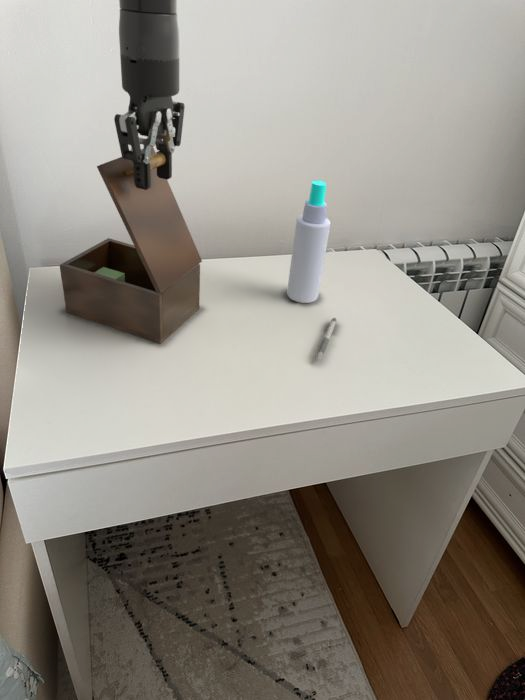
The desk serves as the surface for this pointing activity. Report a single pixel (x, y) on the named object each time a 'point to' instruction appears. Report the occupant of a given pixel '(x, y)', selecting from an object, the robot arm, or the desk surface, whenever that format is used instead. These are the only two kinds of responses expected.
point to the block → (111, 274)
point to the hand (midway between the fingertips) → (153, 182)
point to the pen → (326, 339)
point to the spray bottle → (309, 247)
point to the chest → (127, 292)
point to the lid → (152, 221)
